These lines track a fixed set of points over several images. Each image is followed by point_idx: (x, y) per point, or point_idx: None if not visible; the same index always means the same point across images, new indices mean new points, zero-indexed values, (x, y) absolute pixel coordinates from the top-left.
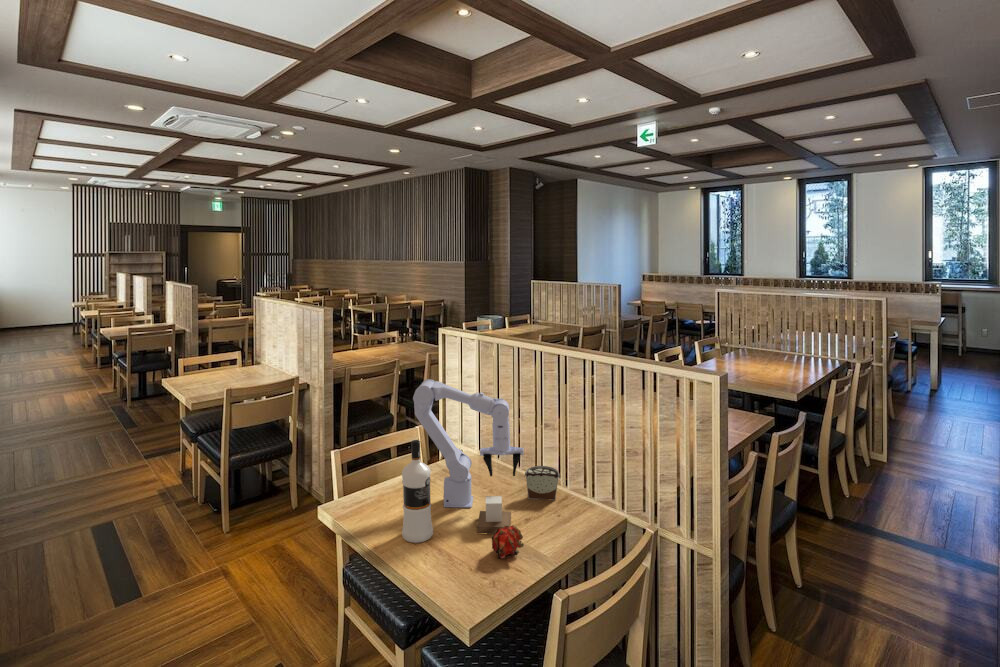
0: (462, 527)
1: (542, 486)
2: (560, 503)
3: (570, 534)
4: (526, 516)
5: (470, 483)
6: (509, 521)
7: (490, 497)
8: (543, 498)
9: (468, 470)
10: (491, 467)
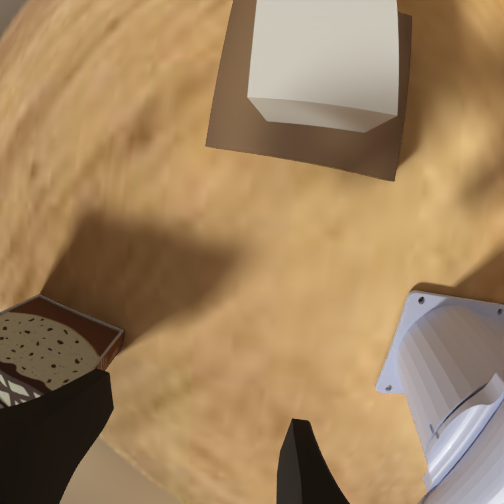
0: (466, 102)
1: (40, 336)
2: (26, 266)
3: (36, 41)
4: (140, 165)
5: (438, 396)
6: (231, 35)
7: (354, 84)
8: (69, 312)
9: (500, 449)
10: (288, 492)
